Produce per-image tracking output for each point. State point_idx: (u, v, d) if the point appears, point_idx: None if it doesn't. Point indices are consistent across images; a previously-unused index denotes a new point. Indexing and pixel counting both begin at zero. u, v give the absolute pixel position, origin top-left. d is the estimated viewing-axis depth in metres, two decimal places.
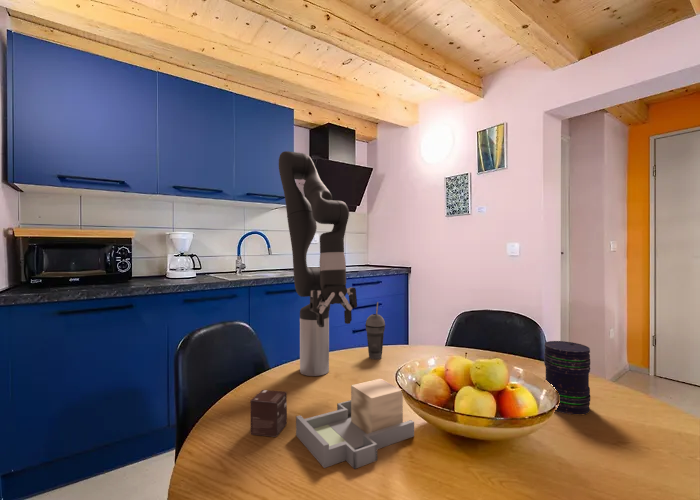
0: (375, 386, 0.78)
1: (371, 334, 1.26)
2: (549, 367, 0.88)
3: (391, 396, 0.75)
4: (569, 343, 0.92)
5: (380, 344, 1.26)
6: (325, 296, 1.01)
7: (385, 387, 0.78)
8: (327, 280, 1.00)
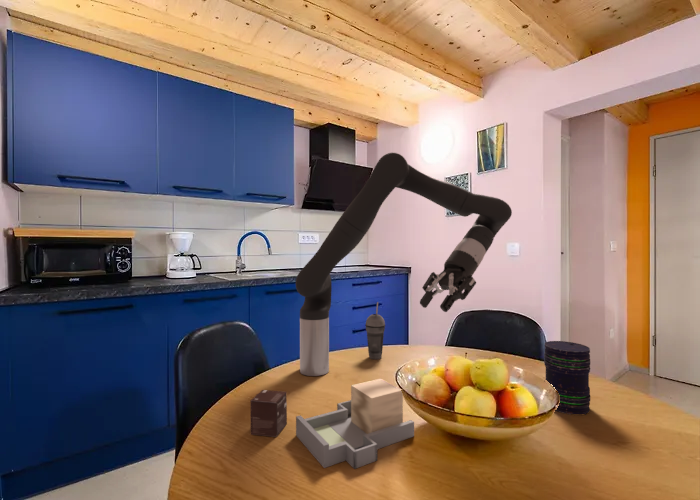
0: (375, 386, 0.78)
1: (371, 334, 1.26)
2: (549, 367, 0.88)
3: (391, 396, 0.75)
4: (569, 343, 0.92)
5: (380, 344, 1.26)
6: None
7: (385, 387, 0.78)
8: (472, 274, 0.92)
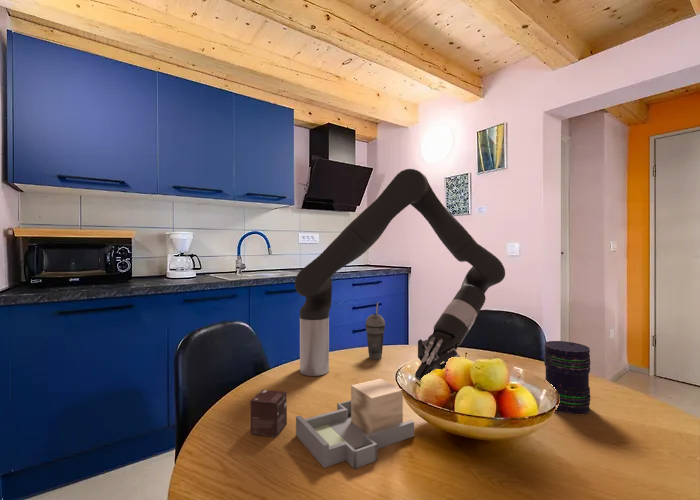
0: (375, 386, 0.78)
1: (371, 334, 1.26)
2: (549, 367, 0.88)
3: (391, 396, 0.75)
4: (569, 343, 0.92)
5: (380, 344, 1.26)
6: None
7: (385, 387, 0.78)
8: (462, 340, 0.87)
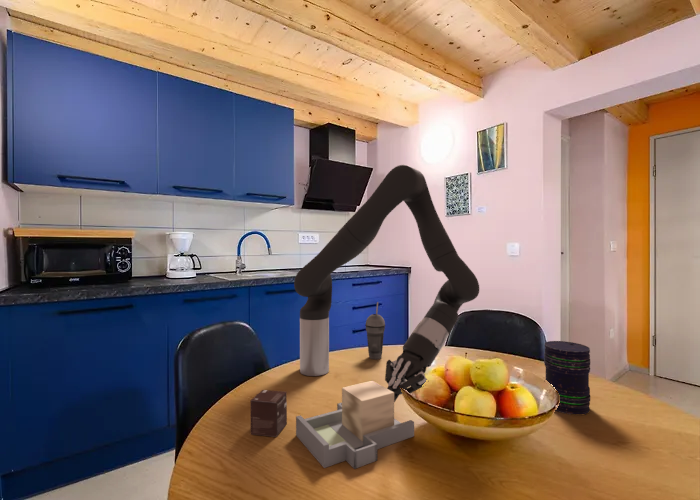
0: (366, 388, 0.77)
1: (371, 334, 1.26)
2: (549, 367, 0.88)
3: (383, 399, 0.73)
4: (569, 343, 0.92)
5: (380, 344, 1.26)
6: None
7: (376, 390, 0.76)
8: (432, 361, 0.82)
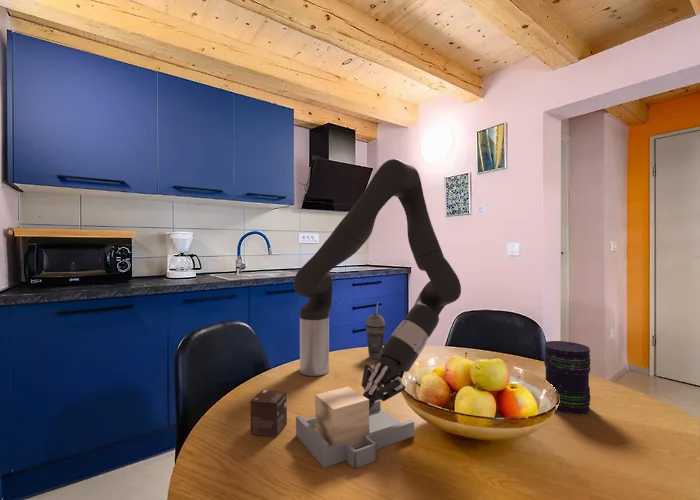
0: (340, 395, 0.73)
1: (371, 334, 1.26)
2: (549, 367, 0.88)
3: (356, 406, 0.70)
4: (569, 343, 0.92)
5: (380, 344, 1.26)
6: None
7: (351, 397, 0.73)
8: (411, 366, 0.79)
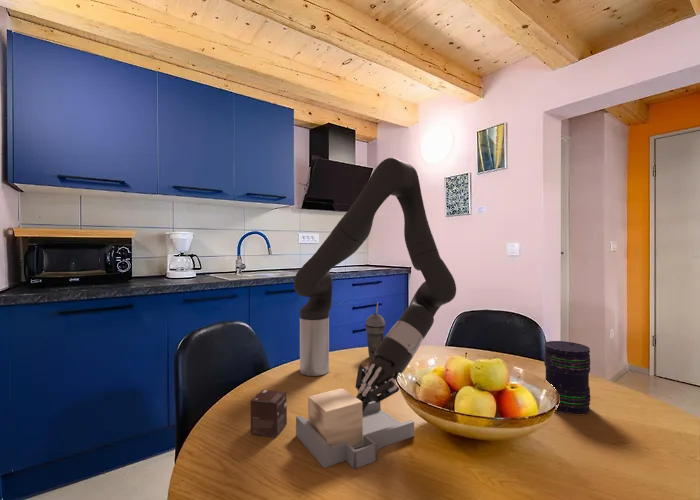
0: (333, 397, 0.72)
1: (371, 334, 1.26)
2: (549, 367, 0.88)
3: (349, 408, 0.69)
4: (569, 343, 0.92)
5: None
6: None
7: (344, 399, 0.72)
8: (405, 367, 0.78)
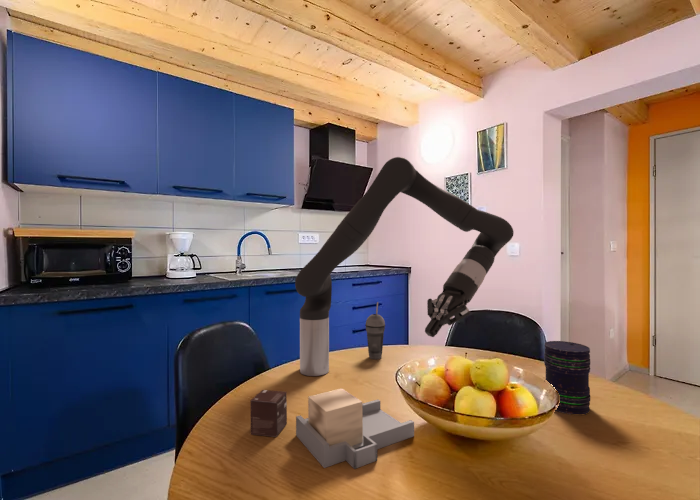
0: (333, 397, 0.72)
1: (371, 334, 1.26)
2: (549, 367, 0.88)
3: (349, 408, 0.69)
4: (569, 343, 0.92)
5: (380, 344, 1.26)
6: None
7: (344, 399, 0.72)
8: (472, 297, 0.89)
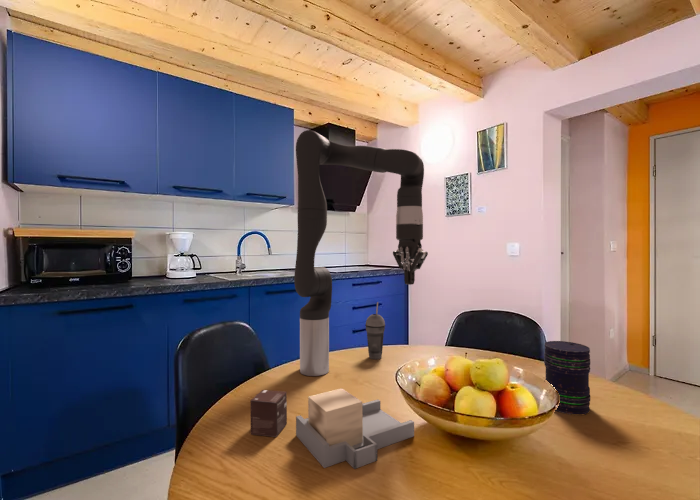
0: (333, 397, 0.72)
1: (371, 334, 1.26)
2: (549, 367, 0.88)
3: (349, 408, 0.69)
4: (569, 343, 0.92)
5: (380, 344, 1.26)
6: None
7: (344, 399, 0.72)
8: (422, 234, 1.00)
